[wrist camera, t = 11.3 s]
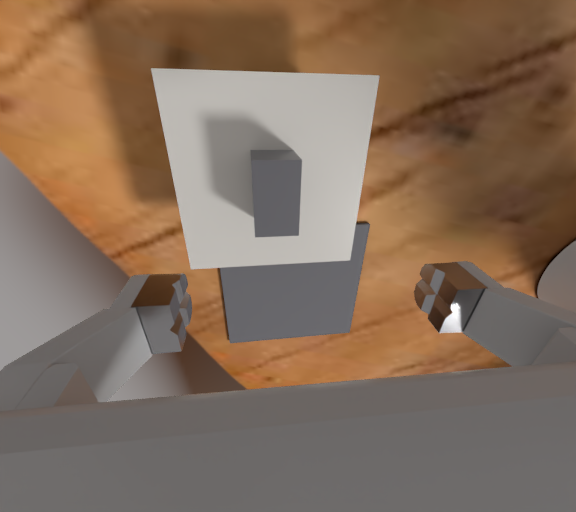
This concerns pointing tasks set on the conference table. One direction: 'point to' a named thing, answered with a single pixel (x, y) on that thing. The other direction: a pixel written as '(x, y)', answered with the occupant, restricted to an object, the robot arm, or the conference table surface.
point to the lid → (266, 162)
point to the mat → (293, 296)
